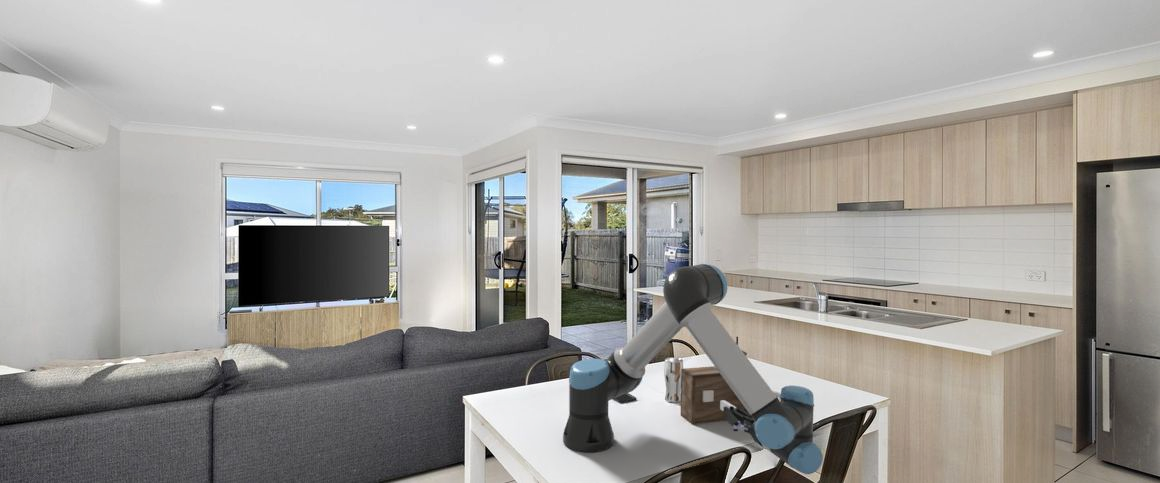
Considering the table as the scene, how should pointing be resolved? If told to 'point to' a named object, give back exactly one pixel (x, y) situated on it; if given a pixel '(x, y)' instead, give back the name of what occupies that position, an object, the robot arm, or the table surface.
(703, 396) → the oat key
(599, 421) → the robot arm
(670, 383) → the beer glass
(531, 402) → the table surface
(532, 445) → the table surface
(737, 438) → the table surface
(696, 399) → the key box
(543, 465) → the table surface
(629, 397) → the phone
